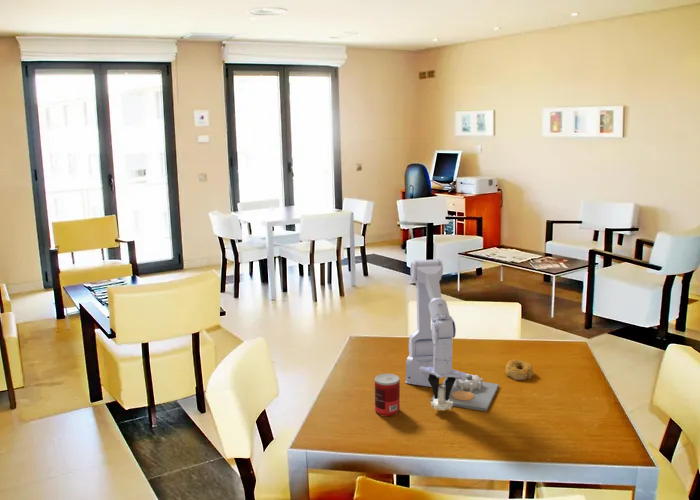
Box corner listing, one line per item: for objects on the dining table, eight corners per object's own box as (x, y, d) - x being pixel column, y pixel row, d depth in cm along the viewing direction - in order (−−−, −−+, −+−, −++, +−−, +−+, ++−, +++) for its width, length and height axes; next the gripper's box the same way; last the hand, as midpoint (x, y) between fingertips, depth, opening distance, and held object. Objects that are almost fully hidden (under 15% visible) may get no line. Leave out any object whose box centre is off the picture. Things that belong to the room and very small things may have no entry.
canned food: (402, 407, 206) (402, 374, 203) (395, 418, 198) (395, 384, 196) (379, 404, 208) (379, 372, 206) (371, 414, 201) (371, 381, 198)
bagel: (502, 379, 226) (503, 366, 225) (507, 368, 236) (507, 356, 235) (532, 383, 223) (532, 370, 222) (535, 372, 233) (535, 359, 232)
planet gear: (428, 408, 200) (429, 389, 199) (434, 399, 206) (434, 381, 205) (449, 411, 198) (449, 393, 196) (454, 403, 204) (455, 384, 202)
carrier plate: (430, 402, 209) (431, 389, 208) (446, 379, 227) (447, 367, 226) (486, 411, 202) (487, 398, 201) (498, 386, 220) (498, 374, 219)
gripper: (416, 358, 198) (415, 399, 201) (463, 365, 192) (461, 407, 195) (423, 350, 204) (422, 390, 207) (468, 357, 198) (467, 398, 201)
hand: (442, 398), depth 201 cm, fingers closed on planet gear, 3 cm apart
